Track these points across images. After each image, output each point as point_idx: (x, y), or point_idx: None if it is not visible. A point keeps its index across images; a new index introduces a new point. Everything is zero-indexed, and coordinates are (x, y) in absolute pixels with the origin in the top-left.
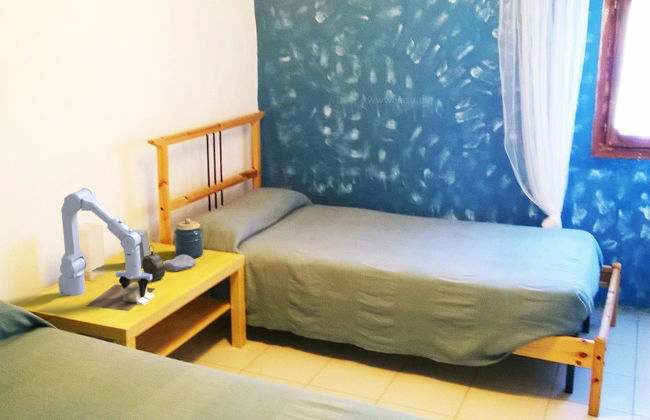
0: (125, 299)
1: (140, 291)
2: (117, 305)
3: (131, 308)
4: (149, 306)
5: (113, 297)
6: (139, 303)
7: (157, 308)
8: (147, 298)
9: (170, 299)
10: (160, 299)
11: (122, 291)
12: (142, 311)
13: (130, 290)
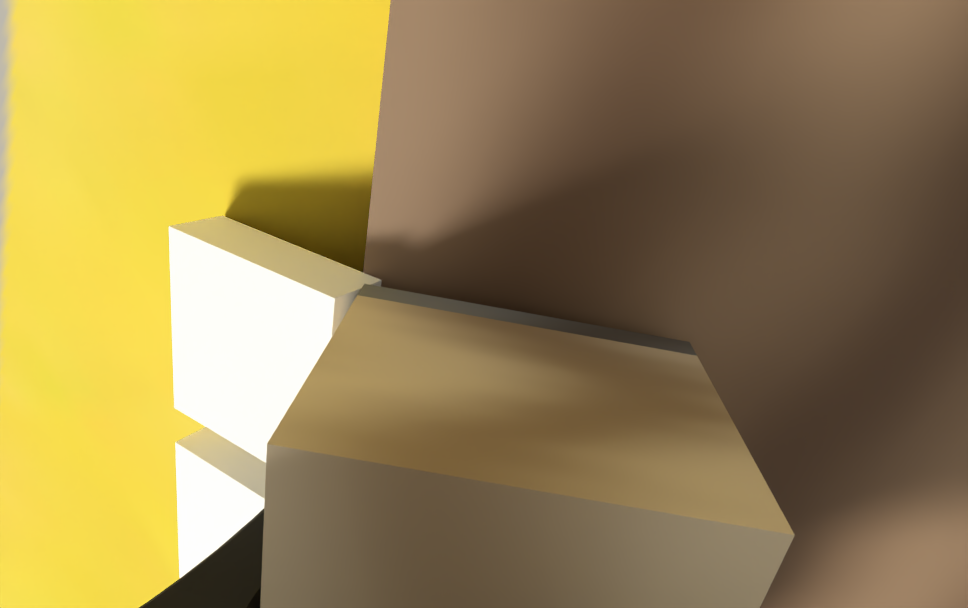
0: (641, 357)
1: (260, 561)
2: (792, 164)
3: (395, 7)
4: None
5: (940, 539)
6: (303, 265)
7: (10, 226)
8: (248, 483)
9: (13, 541)
10: (152, 542)
11: (772, 509)
12: (210, 68)
13: (486, 527)
